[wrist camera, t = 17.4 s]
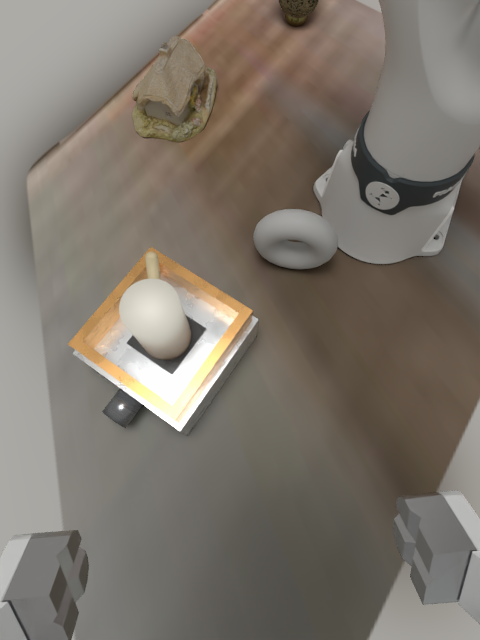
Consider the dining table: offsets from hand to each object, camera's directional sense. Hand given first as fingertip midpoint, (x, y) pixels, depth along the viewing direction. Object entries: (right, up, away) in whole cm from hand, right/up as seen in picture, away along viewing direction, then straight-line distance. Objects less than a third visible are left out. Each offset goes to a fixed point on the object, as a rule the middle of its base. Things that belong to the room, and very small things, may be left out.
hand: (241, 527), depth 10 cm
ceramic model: (-10, +37, +51) cm, 64 cm away
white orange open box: (-9, 0, +38) cm, 39 cm away
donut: (+6, +13, +42) cm, 45 cm away
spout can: (-8, +5, +33) cm, 34 cm away
